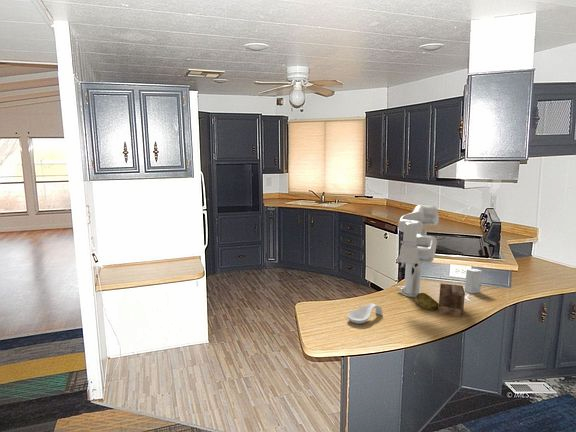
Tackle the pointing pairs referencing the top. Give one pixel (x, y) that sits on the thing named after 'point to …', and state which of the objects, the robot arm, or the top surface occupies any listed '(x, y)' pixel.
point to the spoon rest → (363, 313)
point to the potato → (427, 301)
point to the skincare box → (473, 281)
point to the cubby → (451, 299)
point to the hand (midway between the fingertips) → (407, 273)
